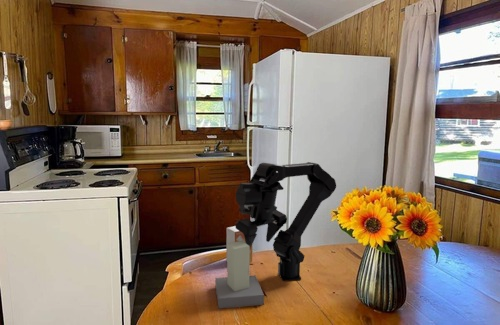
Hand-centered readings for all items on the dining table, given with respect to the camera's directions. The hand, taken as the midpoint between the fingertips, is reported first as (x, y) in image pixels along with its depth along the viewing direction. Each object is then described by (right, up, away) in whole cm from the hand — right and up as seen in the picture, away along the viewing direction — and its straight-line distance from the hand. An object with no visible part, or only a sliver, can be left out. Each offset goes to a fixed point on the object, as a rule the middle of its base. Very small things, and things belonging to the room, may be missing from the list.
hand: (258, 244), depth 116 cm
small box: (-7, -10, +17) cm, 21 cm away
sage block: (-6, -10, -10) cm, 16 cm away
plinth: (-6, -13, -10) cm, 17 cm away
